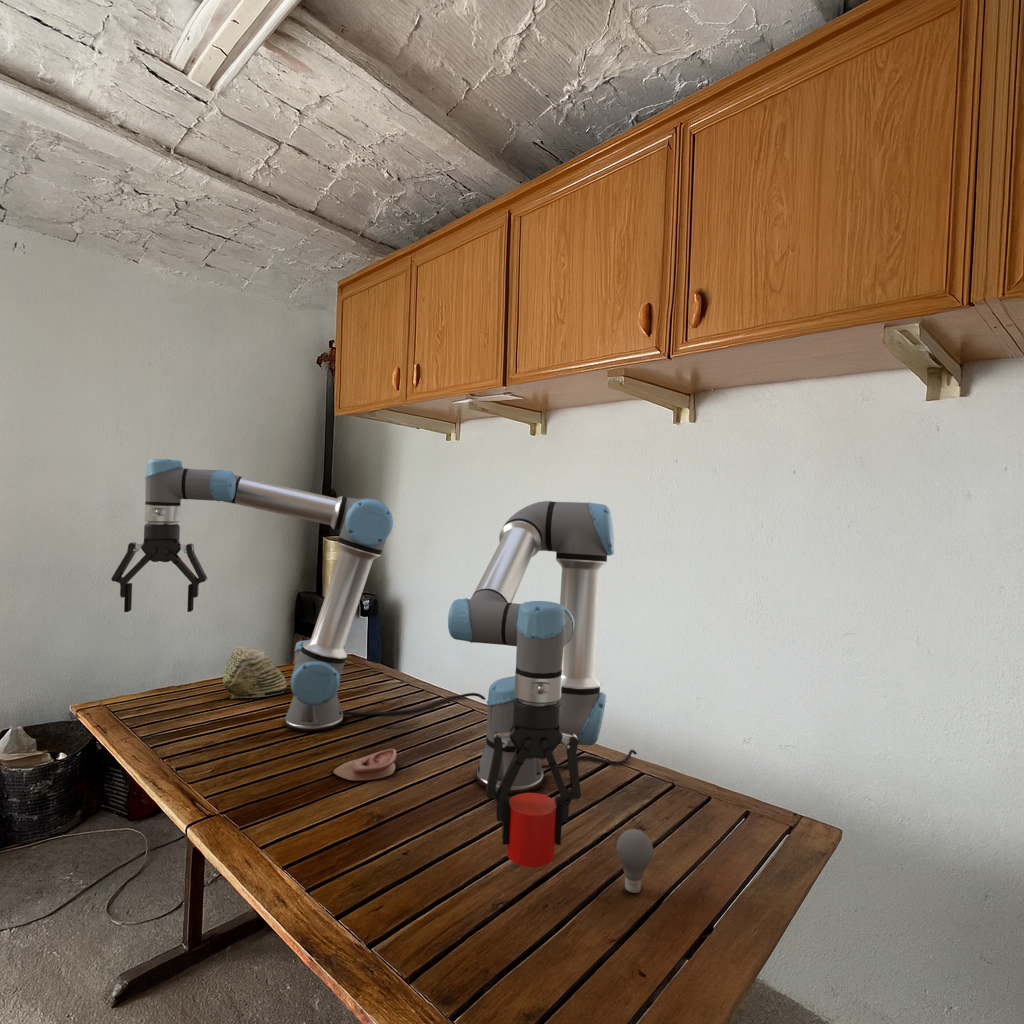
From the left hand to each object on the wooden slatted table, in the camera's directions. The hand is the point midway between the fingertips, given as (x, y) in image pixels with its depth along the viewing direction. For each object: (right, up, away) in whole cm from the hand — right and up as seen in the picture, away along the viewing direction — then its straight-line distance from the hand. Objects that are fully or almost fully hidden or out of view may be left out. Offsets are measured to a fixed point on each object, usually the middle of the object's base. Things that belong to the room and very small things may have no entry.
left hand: (159, 611), depth 153 cm
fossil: (+5, -33, +45) cm, 56 cm away
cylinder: (+88, -31, -51) cm, 106 cm away
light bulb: (+105, -39, -47) cm, 122 cm away
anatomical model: (+51, -36, -6) cm, 63 cm away
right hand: (+88, -29, -51) cm, 106 cm away
